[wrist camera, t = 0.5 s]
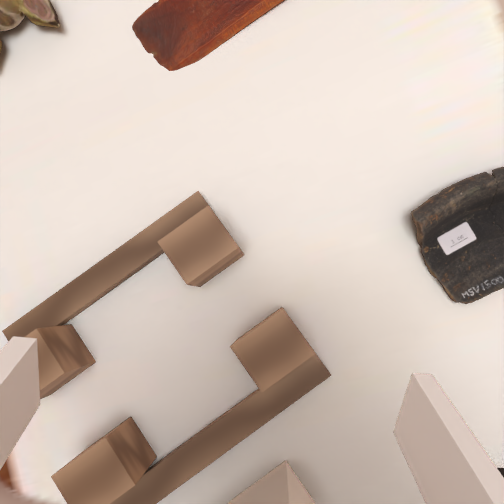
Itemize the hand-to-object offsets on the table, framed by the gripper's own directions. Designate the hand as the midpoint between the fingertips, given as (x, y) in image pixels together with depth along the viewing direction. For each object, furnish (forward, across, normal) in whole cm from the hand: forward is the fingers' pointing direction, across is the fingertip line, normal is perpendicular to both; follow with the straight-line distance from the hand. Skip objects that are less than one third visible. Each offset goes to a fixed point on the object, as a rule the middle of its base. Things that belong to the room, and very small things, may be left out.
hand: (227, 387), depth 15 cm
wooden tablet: (+47, +2, -21) cm, 51 cm away
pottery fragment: (+30, -27, +2) cm, 41 cm away
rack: (+27, +5, +18) cm, 33 cm away
